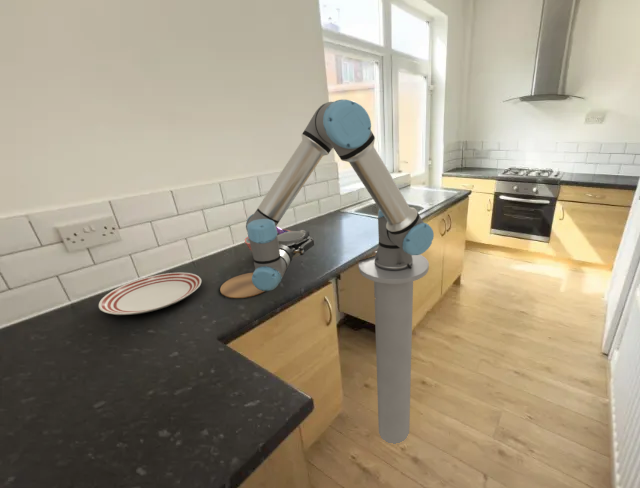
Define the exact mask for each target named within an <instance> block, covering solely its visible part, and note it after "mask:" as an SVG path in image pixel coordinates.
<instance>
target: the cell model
mask: <svg viewBox="0 0 640 488" xmlns="http://www.w3.org/2000/svg"><path fill="white" fill-rule="evenodd" d="M276 230H277V233H279V235H280V234H282V233H286V232H291V231H292V230H289V229H284V228H283V229H282V228H281V227H279V226H276ZM244 244H245V245H246V247H247V248H248V250H250V251H251V252H252V250H251V246H250V241H249V237H248V236H247V237H245V238H244Z"/></svg>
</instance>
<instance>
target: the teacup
mask: <svg viewBox="0 0 640 488" xmlns="http://www.w3.org/2000/svg"><path fill="white" fill-rule="evenodd" d="M290 231H291V232H286V233H282V234H280V235H278V243H279V245H285V246H286V245H289V244H292V243H294V244H295V243H297V242H299V241H301V240H304V237H305V235H306V233H307V232H306V230H304V229H301V230H290ZM300 256H301V255H300V254H299V253H296V254H295V255H294V256H293V258H292V259H295V258H298V257H300Z"/></svg>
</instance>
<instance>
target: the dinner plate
mask: <svg viewBox="0 0 640 488" xmlns="http://www.w3.org/2000/svg"><path fill="white" fill-rule="evenodd" d="M201 284H202V278H201V277H200V276H199V275H197V274H195V273H192V272H170V273H169V272H167V273H159V274H156V275H151V276H146V277H143V278H139V279H135V280H133V281H130V282H128V283H125V284H123V285H121V286H118V287H117V288H115V289H113V290H111V291H110V292H108V293H107V294H105V295H104V296H103V297H102V298H101V299H100V301H99V302H98V309H99V311H101V312H103V313H105V314H109V315H115V316H132V315H141V314H146V313H150V312H154V311H158V310H159V311H160V310H161V309H164V308H168V307H170V306H173V305H175V304H177V303H179V302H180V301H183V300H184V299H186V298H188V297H189V296H191V295H192V294H193V293H194V292H196V291H197V290H198V289H199V288H200V286H201Z"/></svg>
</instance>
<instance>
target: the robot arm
mask: <svg viewBox="0 0 640 488" xmlns="http://www.w3.org/2000/svg"><path fill="white" fill-rule="evenodd" d="M371 129H372V121H371V118H370V116H369V113H368V111H367V110H366V109H365V107H364V106H362V105H361V104H359V103H358V102H356V101H353V100H350V99H338V100H337V99H336V100H335V101H334V100H333V101H328V102H325V103H323V104H322V105H320V106H319V107H318V108H317V109H316V111H315V112H314V114H313V115H312V117H311V118H310V120H309V122H308V124H307V126H306V127H305V128H304V131H303V132H302V133H301V141H300V143H299V144H298V146H297V148H296V149H295V150H294V152H293V154H292V155H291V157H290V158H289V160H288V161H287V163H286V164H285V166H284V167H283V169H282V170H281V172H280V173H279V175H278V177H277V178H276V180H274V183H273V184H272V185H271V187H270V189H269V190H268V191H267V193H266V195H265V196H264V198H263V199H262V201H261V203H260V204H259V205H258V207H257V209H256V210H255V211H254V213H253V214H251V215H249V216H248V218H247V219H246V222H245V229H246V232H247V237H249V241H250V246H251V250H252V251H251V250H250V251H251V254H252V260H253V264H254V270H253V272H252V273H253V275H252V282H253V284H254V286H255V287H256V288H258V289H259V290H262V291H265V292H271V291H273V290H276V288H277V287H278V286H279V284H281V283H282V281H283V277H284V275H285V274H286V272H287V269H288V267H290V264H291V263H292V260H293V259H294V258H293V256H294V255H295V254H296V253H299V254H300V256H304V255H305V253H306V252H307V251H309V250H310V249H311V248H313V247H314V246H315V239H314V238H312V237H311V235H310V231H307V232H306V235H305V237H304V240H301V241H299V242H297V243H295V244H294V243H292V244H289V245H286V246H285V245H279V243H278V235H279V233H277V230H276V227H278V224H279V223H280V222H281V220H282V218H283V216H284V215H285V214H286V212H287V211H288V209H289V207H290V206H291V205H292V203H293V202H294V200H295V199H296V197H297V196H298V194H299V193H300V191H301V190H302V188H303V187H304V185H305V184H306V182H307V181H308V179H309V178H310V177H311V175H312V173H313V172H314V170H315V169H316V168H317V166H318V164H319V163H320V162H321V160H322V158H323V157H324V156H328V155H329V154H330V152H331V151H332V150H334V152H335V153H336V155H337V156H338V157H339V159H340V160H341V161H343V162H348V163H349V164H350V166H351V168H352V169H353V170H354V172H355V174H356V175H357V177H358V179H359V180H360V181H361V183H362V184H363V186H364V187H365V190H366V191H367V192H368V194H369V195H370V197H371V198H372V200H373V202H374V203H375V204H376V206H377V207H378V209H379V210H378V211H377V228H378V231H377V232H378V247H377V250H376V251H377V253H376V252H375V255H374V256H375V265H376V267H378V268H380V269H382V270H386V271H401V270H405V269H407V268H409V269H411V268H412V267H411V266H412V263H413V258H412V255H422V254H424V253H426V252H427V250H429V249H430V247H431V245H432V244H433V241H434V237H435V235H434V230H433V228H432V226H430V225H429V224H428V223H427V222H424V220H423V219H422V217H421V215H420V213H419V212H418V210H417V208H415V207H412V206H411V207H410V205H409V204H408V202H407V200H406V198H405V197H404V195H403V193H402V192H401V190H400V189H399V187H398V185H397V183H396V181H395V180H394V177H393V176H392V175H391V173H390V171H389V169H388V167H387V166H386V164H385V163H384V161H383V159H382V157H381V156H380V153H379V152H378V151H377V149H376V147H375V141H376V136H375V135H374V133H373V131H372V130H371Z"/></svg>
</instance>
